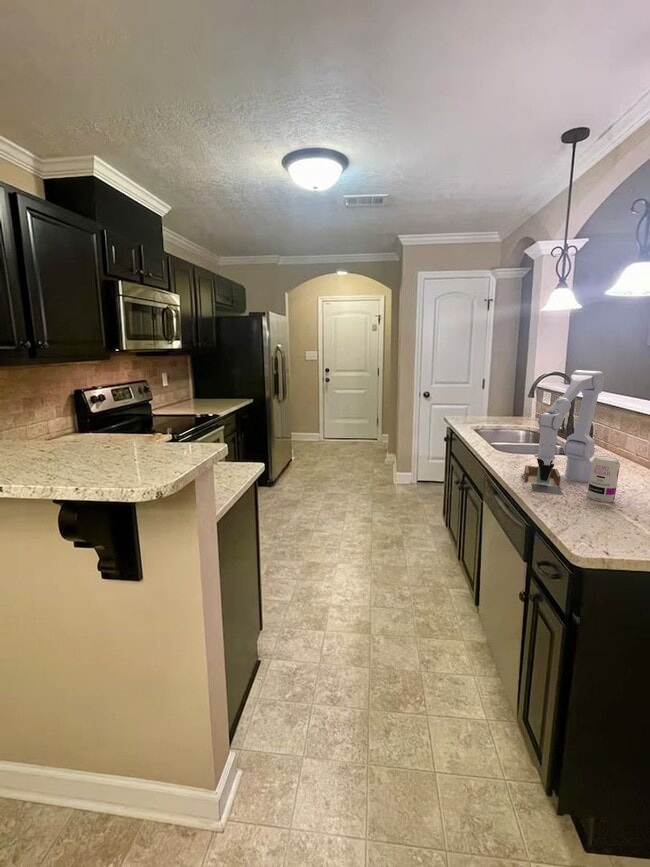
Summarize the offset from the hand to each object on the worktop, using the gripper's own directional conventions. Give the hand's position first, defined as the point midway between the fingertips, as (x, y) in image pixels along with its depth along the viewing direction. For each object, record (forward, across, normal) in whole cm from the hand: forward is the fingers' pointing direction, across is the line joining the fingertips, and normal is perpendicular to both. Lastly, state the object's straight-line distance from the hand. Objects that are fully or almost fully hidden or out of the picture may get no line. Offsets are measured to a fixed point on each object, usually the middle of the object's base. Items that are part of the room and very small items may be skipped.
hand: (543, 478), depth 166 cm
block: (+1, 0, 0) cm, 1 cm away
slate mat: (+3, +5, +1) cm, 6 cm away
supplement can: (+3, +8, +18) cm, 20 cm away
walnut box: (+3, -8, 0) cm, 9 cm away
